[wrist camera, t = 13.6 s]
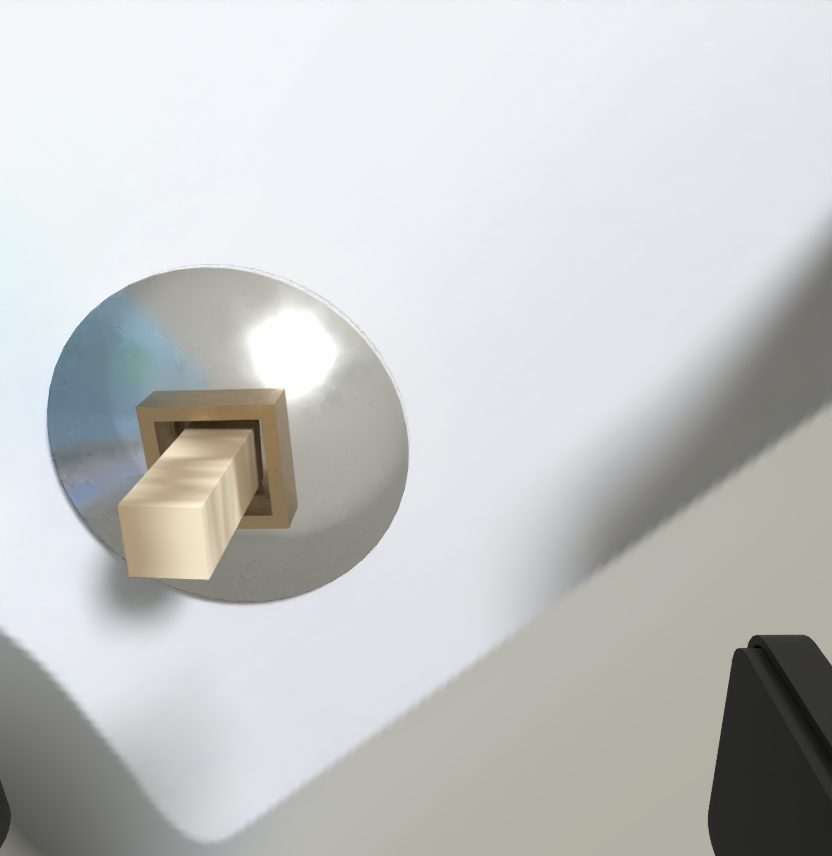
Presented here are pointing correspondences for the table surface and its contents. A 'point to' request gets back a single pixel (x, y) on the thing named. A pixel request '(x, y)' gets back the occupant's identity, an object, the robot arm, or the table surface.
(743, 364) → the table surface
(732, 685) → the robot arm
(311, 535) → the rosette plate
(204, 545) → the tan block
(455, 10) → the table surface
